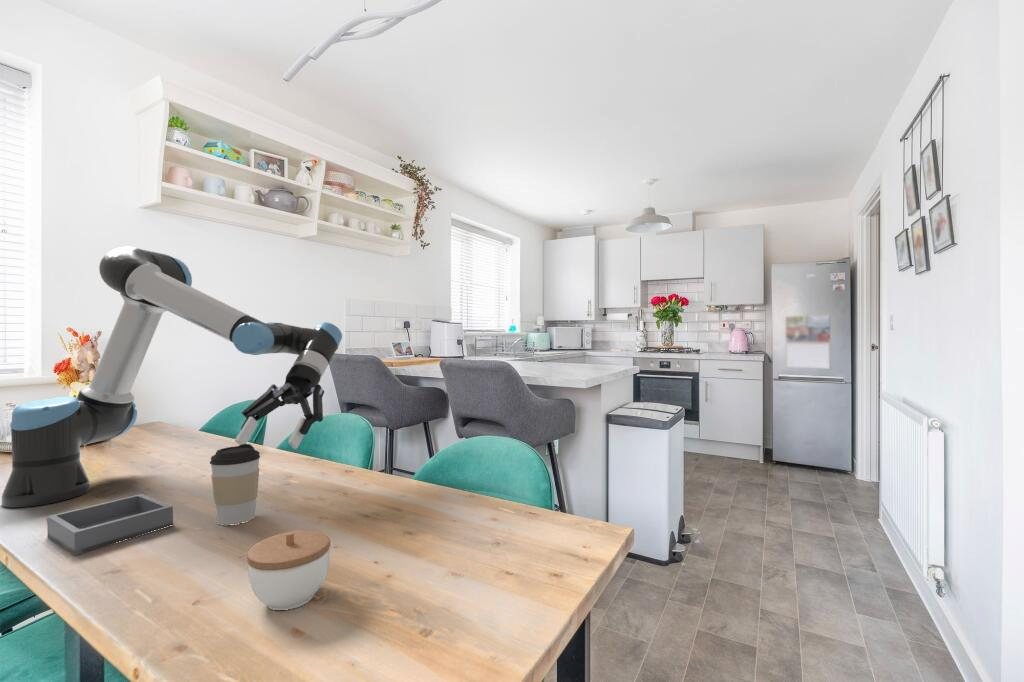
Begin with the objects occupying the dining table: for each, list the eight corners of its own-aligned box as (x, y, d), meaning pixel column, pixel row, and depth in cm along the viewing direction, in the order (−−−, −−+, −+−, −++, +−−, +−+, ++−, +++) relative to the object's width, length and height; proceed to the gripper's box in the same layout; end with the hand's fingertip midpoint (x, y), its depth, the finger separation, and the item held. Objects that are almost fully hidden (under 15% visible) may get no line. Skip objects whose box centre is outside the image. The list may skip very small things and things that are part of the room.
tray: (47, 537, 90) (47, 516, 90) (141, 512, 102) (141, 493, 102) (74, 555, 82) (74, 532, 82) (173, 526, 94) (172, 506, 94)
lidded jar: (268, 581, 72) (267, 520, 72) (339, 577, 73) (338, 517, 73) (232, 623, 61) (231, 552, 61) (317, 618, 62) (316, 548, 62)
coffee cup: (238, 529, 92) (237, 453, 92) (199, 526, 94) (198, 451, 94) (270, 512, 101) (269, 443, 101) (234, 510, 103) (233, 442, 103)
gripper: (357, 382, 119) (322, 455, 105) (271, 381, 124) (227, 451, 110) (345, 362, 114) (307, 436, 99) (256, 362, 119) (208, 433, 105)
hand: (265, 444), depth 105 cm, fingers open, 13 cm apart
